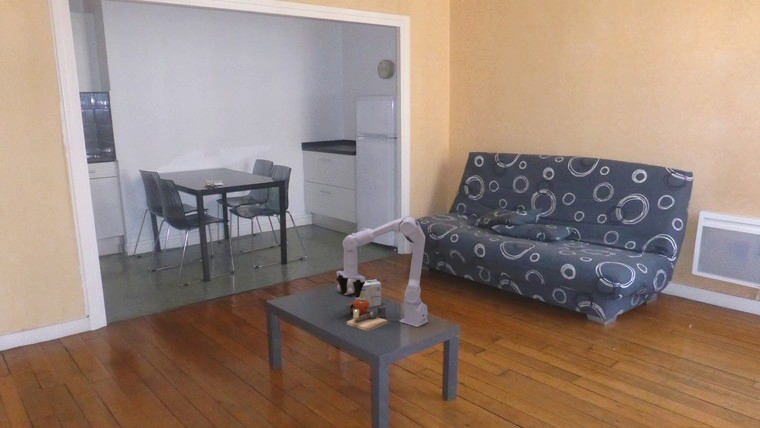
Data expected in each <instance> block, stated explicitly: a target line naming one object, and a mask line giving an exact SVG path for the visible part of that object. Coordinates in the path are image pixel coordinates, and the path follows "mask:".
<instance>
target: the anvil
mask: <svg viewBox="0 0 760 428" xmlns="http://www.w3.org/2000/svg"><path fill="white" fill-rule="evenodd" d="M353 302H354V301H349V302H348V303H347V304H346V305H345V311H344V313H343V316H344V317H351V316H353V310H354V309H353Z"/></svg>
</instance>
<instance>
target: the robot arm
mask: <svg viewBox="0 0 760 428" xmlns="http://www.w3.org/2000/svg"><path fill="white" fill-rule="evenodd" d="M391 232H395V233H397V234H399V233H401V234H402V235H404V236H405V237H407V238H409V239H410V240H411V241H412V243H413V246H412V256H411V262H410V270H409V277H408V283H407V285H406V288H405V291H404V296H403V297H404V299H403V318H401V319H400V320H399V323H402V324H406V325H409V326H413V327H415V328H417V327H420V326H422V325H425V324H427V323H429V320H428V306H427V304H426V303H424V302H423V301H422V298H421V292H422V287H421V285H420V283H421V275H422V267H423V259H424V252H425V251H424V250H425V244H426V235H425V233H424V232H423V229H422V227H421V225H420V223H419V221H417V219H415V218H414V217H413V216H410V215H408V216H404V217H401V218H397V219H395V220H392V221H390V222H387V223H385V224H383V225H380V226H379V227H376V228H373V229H372V228H368V227H367V228H366V227H364V228H362V229H361V230H360V231H358V232H352V233H351V234H348V235H347V236H345V238H344V239H343V240H342V247H343V271H342V270H337V271H336V282H338V283H339V285H340V288H341V291H342V292H341V294H342V295H344V294H345V293H346V292H347V282H348V278H350V279H353V280H355V282H353V285H354V289H355V292H354V297H355V298H358V297H360V293H361V290H362V287H363V285H364V284H365V281H366V276H363V275H362V274H360V273H358V247H362V246H364V245H367V244H370V243H373V242H374V241H375V239H376V238H377V237H379V236H382V235H383V236H384V235H385V234H387V233H391ZM338 283H337V284H338Z"/></svg>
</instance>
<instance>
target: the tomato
mask: <svg viewBox="0 0 760 428" xmlns="http://www.w3.org/2000/svg"><path fill="white" fill-rule="evenodd" d="M352 302H353V309H359V316H362V315H364V314H367V312H369V309H370V308H371V307H370V303H369V302H368V300H366V298H363V296H361V297H360V298H357V299H356V300H355V299H354V301H352Z"/></svg>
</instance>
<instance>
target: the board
mask: <svg viewBox="0 0 760 428" xmlns="http://www.w3.org/2000/svg"><path fill="white" fill-rule="evenodd" d="M365 315H367V313H365V314H364V315H359V317H361V316H365ZM387 324H388V319H384V318H381V317H379V316H377V317H376V318H374V319H366V320H363V321H360V322H356V321H355V320H354V319H353V318H351V319H350V320H348V321H346V326H351V327H354V328H356V329H359V330H362V331H366V332H371V331H374V330H375V329H377V328H381V327H382V326H385V325H387Z"/></svg>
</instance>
